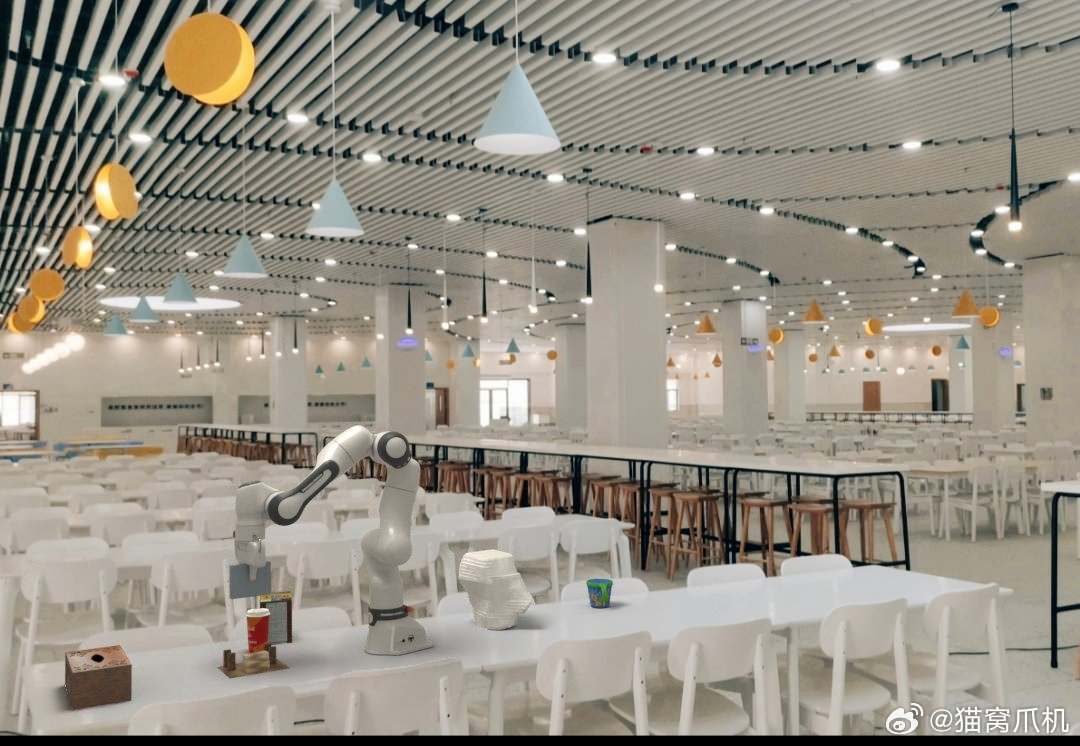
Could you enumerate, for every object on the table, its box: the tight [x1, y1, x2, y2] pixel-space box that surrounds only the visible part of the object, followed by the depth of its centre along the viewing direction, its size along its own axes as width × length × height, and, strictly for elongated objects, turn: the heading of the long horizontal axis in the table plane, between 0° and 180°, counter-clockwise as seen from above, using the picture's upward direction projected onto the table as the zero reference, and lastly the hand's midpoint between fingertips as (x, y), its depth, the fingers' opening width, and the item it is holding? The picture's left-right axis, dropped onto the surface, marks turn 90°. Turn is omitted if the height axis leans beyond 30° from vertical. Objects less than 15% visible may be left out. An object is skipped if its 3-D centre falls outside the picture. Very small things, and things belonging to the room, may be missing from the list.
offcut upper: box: [241, 651, 269, 665], centre depth 272 cm, size 7×3×2 cm, turn 129°
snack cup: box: [585, 578, 614, 609], centre depth 358 cm, size 16×10×10 cm
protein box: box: [259, 590, 293, 646], centre depth 311 cm, size 10×15×16 cm
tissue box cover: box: [64, 644, 133, 711], centre depth 254 cm, size 26×14×10 cm, turn 32°
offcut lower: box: [244, 661, 270, 673], centre depth 272 cm, size 7×3×2 cm, turn 124°
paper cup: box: [245, 607, 270, 653], centre depth 294 cm, size 8×8×14 cm
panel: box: [229, 560, 272, 600], centre depth 279 cm, size 12×2×10 cm, turn 124°
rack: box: [216, 643, 291, 679], centre depth 275 cm, size 18×15×6 cm
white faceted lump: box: [457, 548, 533, 631], centre depth 328 cm, size 21×27×26 cm
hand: (250, 578), depth 279 cm, fingers closed on panel, 2 cm apart
